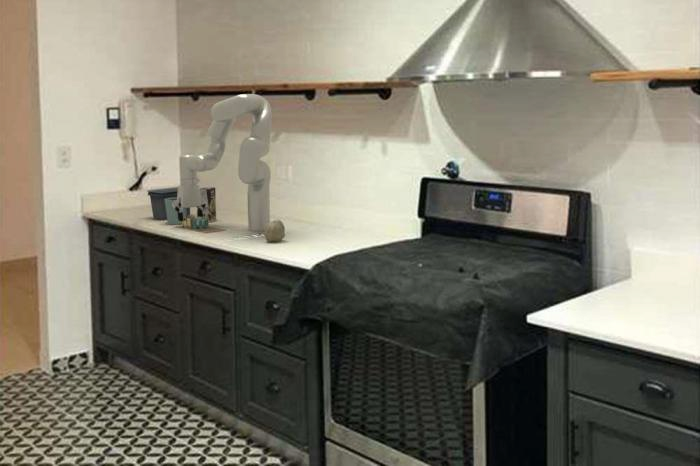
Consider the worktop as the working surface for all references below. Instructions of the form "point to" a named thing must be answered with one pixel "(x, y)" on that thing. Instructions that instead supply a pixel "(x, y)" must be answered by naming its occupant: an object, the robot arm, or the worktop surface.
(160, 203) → the storage bin
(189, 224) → the brass gear
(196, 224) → the gear board
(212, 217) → the coffee box
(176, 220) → the grey green cup
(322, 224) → the worktop surface
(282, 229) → the tan rounded piece
